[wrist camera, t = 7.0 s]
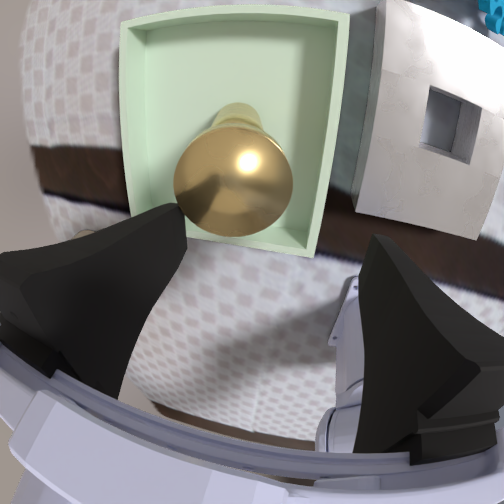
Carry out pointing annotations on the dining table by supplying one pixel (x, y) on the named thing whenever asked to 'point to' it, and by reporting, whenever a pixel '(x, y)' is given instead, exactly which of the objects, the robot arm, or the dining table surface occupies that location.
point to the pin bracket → (412, 118)
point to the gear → (493, 14)
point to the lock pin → (233, 175)
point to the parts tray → (230, 91)
